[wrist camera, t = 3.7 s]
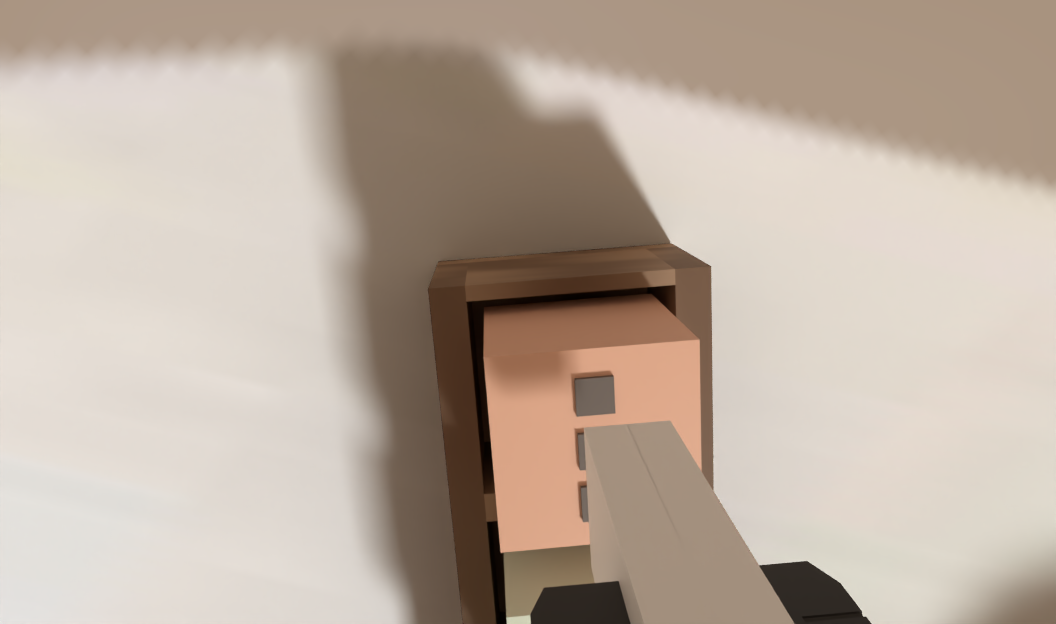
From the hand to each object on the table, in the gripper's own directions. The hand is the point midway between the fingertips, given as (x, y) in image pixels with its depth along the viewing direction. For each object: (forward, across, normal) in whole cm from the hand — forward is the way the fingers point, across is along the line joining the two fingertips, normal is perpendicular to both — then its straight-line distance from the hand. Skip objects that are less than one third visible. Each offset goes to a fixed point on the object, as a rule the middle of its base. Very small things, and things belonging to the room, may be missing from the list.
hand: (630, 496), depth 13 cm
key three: (+7, 0, 0) cm, 7 cm away
